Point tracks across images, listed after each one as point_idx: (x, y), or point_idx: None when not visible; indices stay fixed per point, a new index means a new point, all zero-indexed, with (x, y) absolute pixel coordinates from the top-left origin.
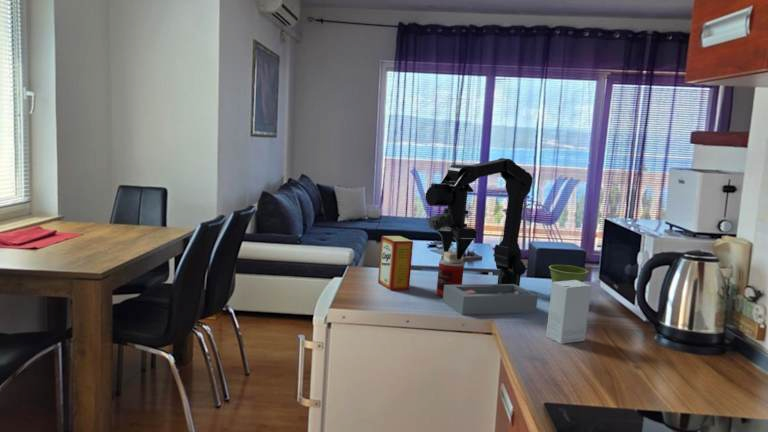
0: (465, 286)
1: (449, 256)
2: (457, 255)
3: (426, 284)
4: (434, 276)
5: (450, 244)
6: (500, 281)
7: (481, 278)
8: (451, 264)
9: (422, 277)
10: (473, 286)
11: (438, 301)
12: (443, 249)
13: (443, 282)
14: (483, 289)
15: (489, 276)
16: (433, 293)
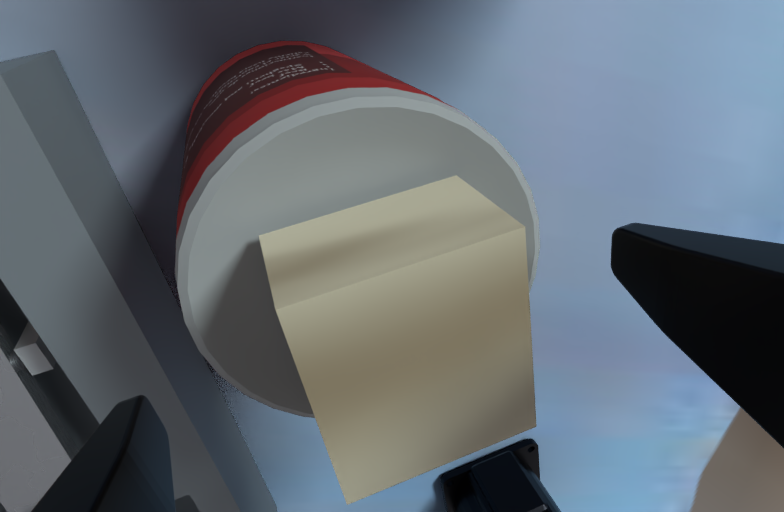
0: (32, 310)
1: (276, 283)
2: (75, 456)
3: (606, 22)
4: (777, 131)
5: (726, 388)
6: (501, 492)
7: (692, 381)
8: (177, 260)
9: (776, 34)
10: (74, 379)
11: (50, 7)
12: (679, 230)
13: (210, 100)
14: None
15: (717, 414)
16: (343, 21)
